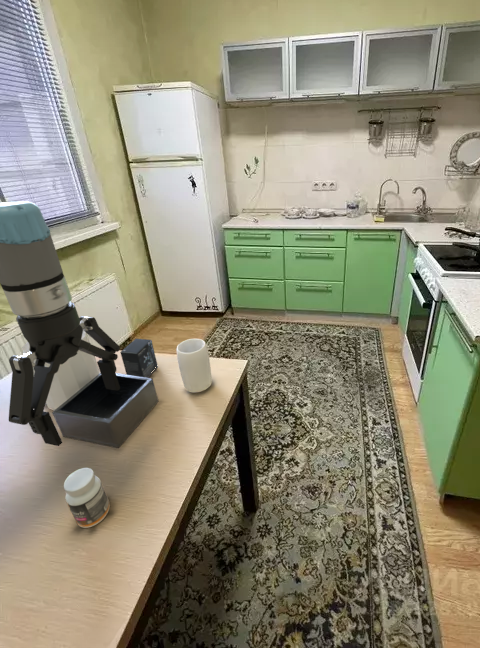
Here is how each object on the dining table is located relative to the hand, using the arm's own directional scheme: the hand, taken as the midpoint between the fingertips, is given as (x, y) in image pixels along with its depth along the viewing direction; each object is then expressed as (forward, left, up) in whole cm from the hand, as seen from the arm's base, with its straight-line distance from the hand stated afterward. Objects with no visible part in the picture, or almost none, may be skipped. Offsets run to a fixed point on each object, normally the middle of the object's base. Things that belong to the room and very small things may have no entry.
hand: (86, 413), depth 59 cm
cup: (+2, +32, -20) cm, 38 cm away
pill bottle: (0, -6, -20) cm, 21 cm away
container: (-32, +22, -20) cm, 44 cm away
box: (-18, +34, -20) cm, 43 cm away
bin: (-14, +16, -20) cm, 29 cm away
